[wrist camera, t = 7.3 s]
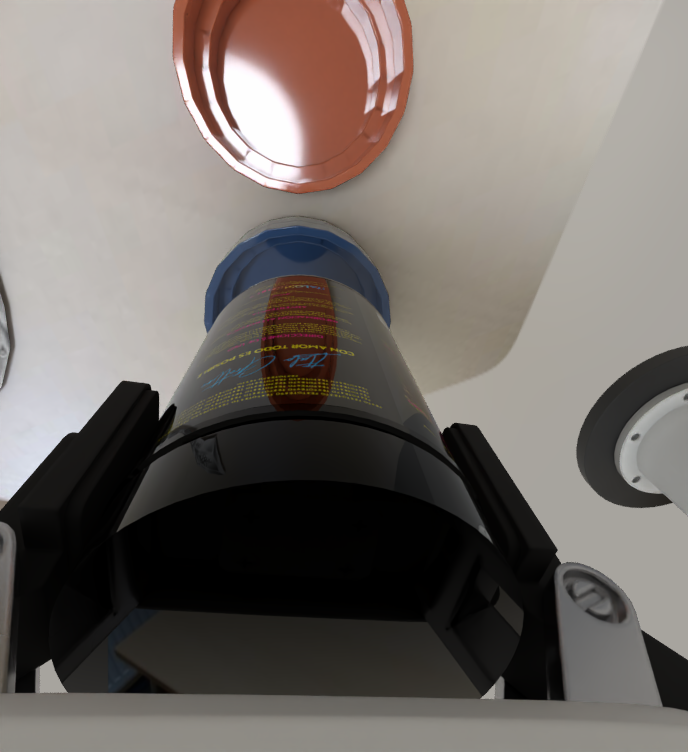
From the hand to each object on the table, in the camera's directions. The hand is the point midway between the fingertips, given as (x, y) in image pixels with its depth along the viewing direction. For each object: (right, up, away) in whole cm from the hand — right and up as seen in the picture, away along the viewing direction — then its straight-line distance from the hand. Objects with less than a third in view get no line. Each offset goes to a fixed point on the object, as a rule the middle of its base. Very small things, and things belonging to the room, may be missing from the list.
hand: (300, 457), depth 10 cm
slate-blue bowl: (-2, +8, +20) cm, 22 cm away
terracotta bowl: (-2, +19, +14) cm, 24 cm away
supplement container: (-1, +3, +5) cm, 6 cm away
